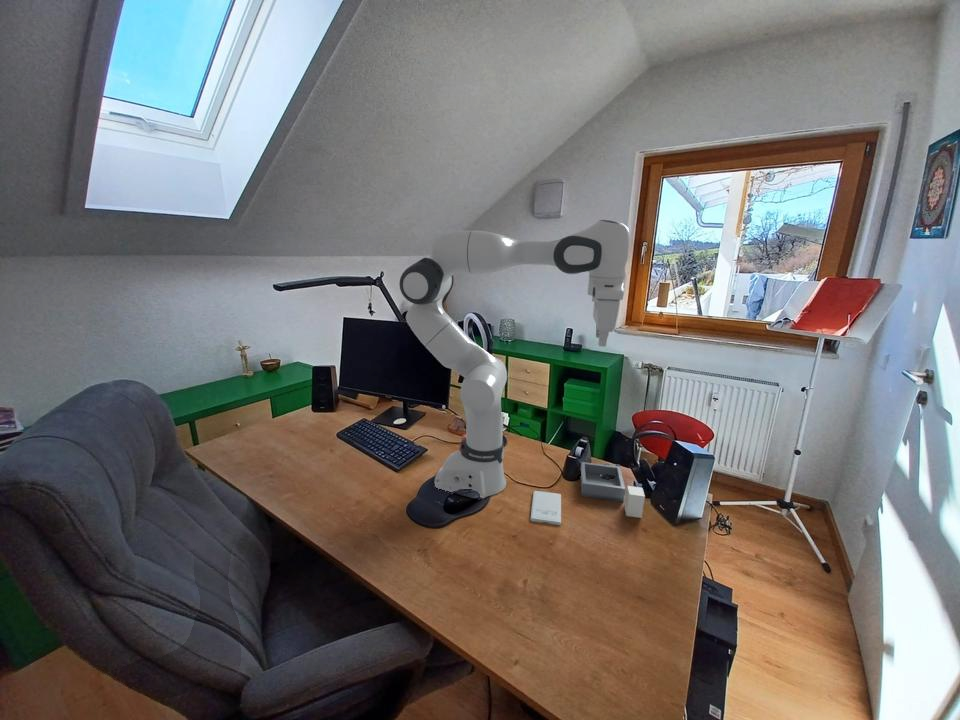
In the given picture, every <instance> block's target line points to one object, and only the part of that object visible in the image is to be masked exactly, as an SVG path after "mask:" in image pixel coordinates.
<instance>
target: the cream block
mask: <svg viewBox="0 0 960 720" xmlns="http://www.w3.org/2000/svg"><path fill="white" fill-rule="evenodd" d="M645 499H646V495H645V492H644V489H643V487H640V486H634V485H633V486H632V485H627V486H626V491H625V498H624V506H623V508H624V511H625V516H627V517H633V518H640V519H642V517H643V512H644V505H645Z"/></svg>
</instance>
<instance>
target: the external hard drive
mask: <svg viewBox="0 0 960 720" xmlns="http://www.w3.org/2000/svg"><path fill="white" fill-rule="evenodd" d="M531 502H532V503H531V509H530V519H529V520H530V522H535V523H547V524H549V525H555V526H561V525H562V494H561V493H557V492H556V493H555V492H549V491H540V490H533V495H532V501H531Z"/></svg>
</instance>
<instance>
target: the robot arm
mask: <svg viewBox="0 0 960 720" xmlns="http://www.w3.org/2000/svg"><path fill="white" fill-rule="evenodd" d="M630 236H631V235H630V230H629V227H628V226H627V225H626V224H625V223H622V222H620V221H617V220H616V221H614V220H607V219H600V220H597V221H596V222H595V223H594V224H592V225H591V226H588V227H586V228H585V229H583V230H580V231H577V232H575V233H572V234H568V235H566V236H563V237H562V238H560V239H558V240H551V241H546V240H545V241H542V240H538V241H537V240H535V241H532V240H531V241H530V240H529V241H528V240H520V239H516V238H512V237H509V236H507V235H503V234H499V233H495V232H491V231H484V230H457V231H450V232H445V233H440V234H438V235H437V236H436V237H435V238H434V240H433V242H432V244H431V251H430V253H431V254H430V257H423V258H421V259H420V260H418V261H417V262H415V263H413V264H411V265H410V266H408V267H407V268H406V269H405V270H404V271H403V272H402V274H401V276H400V279H399V290H400V292H401V295H402V296H403V297H404V299H406V300H407V301H408V302H410V303H411V306H410V307H409V308H408V310H407V312H406V315H405V320H406V323H407V325H408V326H409V327H410V330H411V331H412V332H413V333H414V335H415V336H416V337H417V339H418V340H419V341H420V343H421V344H422V345H423V346H424V347H425V349H427V351H429V353H430V354H432V355H433V357H434V358H435V359H436V360H437V361H438V362H439V364H441V365H442V366H444V367H445V368H447V369H451V370H452V371H454V372H456V373H457V374H458V375H460V376H462V377H463V381H462V383H461V386H460V393H459V395H460V401H461V403H462V404H463V409H464V410H463V411H464V414H465V423H466V424H465V425H466V426H465V427H466V428H465V429H466V430H465V433H464V434H463V435H462V437H461V438H460V439H461V441H460V443H459V446H458V447H459V448H458V450H455V451H454V452H453V453H450V454H449V455H448V456H447V458H445V461H444V463H443V466H442V467H440V468H439V470H438V471H437V473H436V475H435V477H434V482H433V483H434V484H435V485H434V488H435V487H436V488H438V489H437V490H439V489H442V490H445V491H444V492H446V491H449V492H453V491H457V490H459V489H472V490H474V491H477V492H478V493H479V494H480V497H481V498H483V499H485V498H487V497H490V496H494V495H496V494H499V493H501V492H502V491H503V490H504V489H505V488H506V486H507V479H506V476H505V472H504V471H505V470H504V463H503V461H504V455H505V446H504V440H503V432H504V431H503V430H504V418H503V413H502V394H503V391H504V387H505V385H506V383H507V380H508V371H507V367H506V364H505V363H504V362H503V361H502V360H501V359H500V358H497V357H494V356H493V354H491V353H489V352H488V351H486V349H484V348H482V347H481V346H480V345H479V344H477V343H476V342H475V341H473V340H472V339H471V337H469V336H468V335H467V333H466V332H465V331H464V330H463V329H462V328H461V327H460V326H459V325H458V324H457V323H456V322H455V320H454V319H453V318H452V317H450V316H449V314H448V313H447V312H446V311H445V309H444V308H443V304H445V302H446V300H447V299H448V297H449V294H450V293H451V291H452V288H453V286H454V282H455V276H454V275H457V274H473V275H477V274H478V275H479V274H481V275H482V274H490V273H497V272H500V271H502V270H505V269H508V268H512V267H516V266H521V265H532V266H533V265H537V266H538V265H539V266H541V265H542V266H543V265H545V266H547V265H548V266H554V267H556V268H558V270H560V271H561V272H562V273H564V274H567V275H578V274H581V273H586V272H588V273H589V274H588V284H587V295H588V296H591V297H592V298H591V302H593V312H592V313H593V314H592V318H593V320H594V322H595V337H596V338H597V339H598V346H599V347H607V343H608V342H607V341H608V337H609V333H612V332H613V331H614V330H615V327H616V324H617V319H618V315H619V309H620V303H621V301H622V300H623V299H624V296H625V288H626V281H627V280H626V279H627V272H626V266H627V263H628V261H629V254H630V253H629V252H630V243H631V241H630V239H631V237H630ZM436 488H435V489H436ZM442 490H441V491H442ZM449 492H448V493H449Z"/></svg>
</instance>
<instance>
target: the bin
mask: <svg viewBox="0 0 960 720" xmlns="http://www.w3.org/2000/svg"><path fill="white" fill-rule="evenodd" d="M581 462H582V463H580V471H581V476H580V475H579V477H580V495H581V497H583V498H584V497H585V498H592V499H600V500H606V501H612V502H619V503H620V502H621V503H625V496H626V486H625V482H624V478H623V473H622V469H621V466H617V465H609V464H601V463H593V462H585V461H581ZM600 474H608V475H613V476H615V477H616V478H614V479H609V480H606V479H603V478H601V477H600V476H599V475H600Z"/></svg>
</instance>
